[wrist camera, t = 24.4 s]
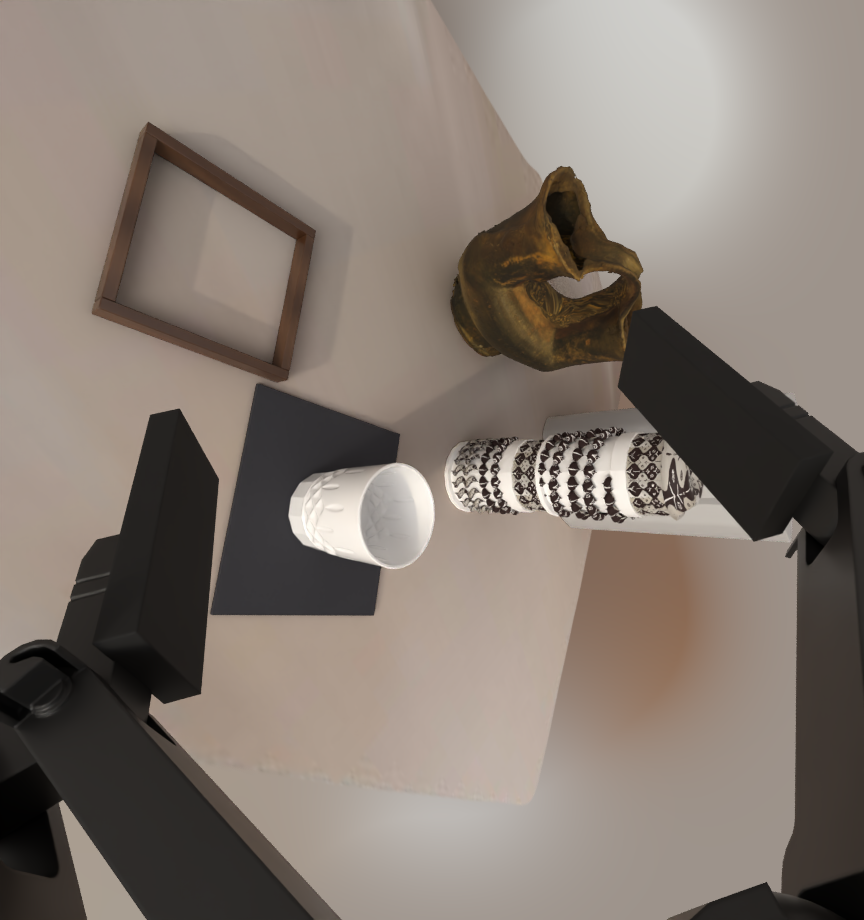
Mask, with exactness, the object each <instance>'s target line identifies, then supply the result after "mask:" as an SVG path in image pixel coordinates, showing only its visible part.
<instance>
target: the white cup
mask: <svg viewBox="0 0 864 920" xmlns="http://www.w3.org/2000/svg"><path fill="white" fill-rule="evenodd" d="M288 516H289V520H290V524H291V527H292V531H293V533H294V534H295V536H296V537H297V538H298V539H299V540H300V541H301V543H302V544H303V545H305V546H308V547H311V548H314V549H316V550H320V551H325V552H327V553H328V554H332V555H336V556H339V557H342V558H346V559H350V560H355V561H359V562H363V563H368V564H372V565H376V566H381V567H385V568H389V569H399V568H403V567H406V566H408V565H410V564H412V563H413V562H414V561H416V560H417V559H418V558H419V557H420V555H421V554H422V553H423V552H424V550H425V548H426V547H427V545H428V543H429V541H430V538H431V535H432V532H433V527H434V520H435V506H434V500H433V495H432V492H431V489H430V487H429V485H428V483H427V481H426V479H425V478H424V477H423V475H422V474H421V473H420V472H419V471H418V470H417V469H415V468H414V467H412V466H410V465H408V464H404V463H391V464H382V465H372V466H363V467H353V468H346V469H339V470H336V471H333V472H326V473H315V474H312V475H311V476H309V477H308V478H306V479H305V480H303V481H302V482H300V483H299V485H298V487H297V488H296V490H295V492H294V493H293V495H292V497H291V501H290V507H289V514H288Z"/></svg>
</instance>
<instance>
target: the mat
mask: <svg viewBox="0 0 864 920" xmlns="http://www.w3.org/2000/svg"><path fill="white" fill-rule="evenodd" d="M399 437H400V434H397V433H394V432H392V431H389V430H386V429H383V428H380V427H378V426H375V425H372V424H369V423H367V422H364V421H361V420H358V419H355V418H353V417H350V416H347V415H344V414H341V413H339V412H336V411H333V410H330V409H328V408H325V407H322V406H319V405H316V404H314V403H311V402H308V401H305V400H302V399H300V398H297V397H294V396H291V395H289V394H286V393H283V392H280V391H277V390H275V389H272V388H269V387H266V386H263V385H261V384H256V388H255V393H254V398H253V403H252V408H251V413H250V418H249V423H248V428H247V433H246V438H245V443H244V448H243V453H242V458H241V463H240V468H239V473H238V478H237V483H236V488H235V493H234V498H233V503H232V508H231V513H230V518H229V523H228V528H227V533H226V538H225V543H224V548H223V553H222V558H221V563H220V568H219V573H218V578H217V583H216V588H215V593H214V598H213V603H212V608H211V613H210V614H211V615H374V611H375V604H376V597H377V590H378V583H379V576H380V569H381V566H376V565H372V564H368V563H363V562H359V561H355V560H350V559H346V558H342V557H339V556H336V555H332V554H328V553H327V552H325V551H320V550H316V549H314V548H311V547H308V546H305V545H303V544H302V543H301V541H300V540H299V539H298V538H297V537H296V536H295V534H294V533H293V531H292V527H291V524H290V520H289V516H288V514H289V507H290V501H291V497H292V495H293V493H294V492H295V490H296V488H297V487H298V485H299V483H300V482H302V481H303V480H305V479H306V478H308V477H309V476H311V475H312V474H315V473H326V472H333V471H336V470H339V469H346V468H353V467H363V466H372V465H382V464H391V463H396V458H397V451H398V444H399Z"/></svg>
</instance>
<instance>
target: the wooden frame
mask: <svg viewBox="0 0 864 920" xmlns="http://www.w3.org/2000/svg"><path fill="white" fill-rule="evenodd" d="M154 152H155V153H156V154H158V155H160V156H161V157H163V158H164V159H166V160H168V161H169V162H171V163H173V164H174V165H176V166H177V167H179V168H181V169H182V170H184V171H186V172H187V173H189V174H190V175H192V176H194V177H195V178H197V179H199V180H200V181H202V182H203V183H205V184H207V185H208V186H210V187H212V188H213V189H215V190H216V191H218V192H220V193H221V194H223V195H225V196H226V197H228V198H229V199H231V200H233V201H234V202H236V203H238V204H239V205H241V206H242V207H244V208H246V209H247V210H249V211H251V212H252V213H254V214H255V215H257V216H259V217H260V218H262V219H264V220H265V221H267V222H268V223H270V224H272V225H273V226H275V227H277V228H278V229H280V230H281V231H283V232H285V233H286V234H288V235H290V236H291V237H293V238H294V239H296V245H295V250H294V255H293V260H292V266H291V271H290V276H289V281H288V286H287V291H286V296H285V301H284V306H283V312H282V317H281V322H280V327H279V332H278V337H277V342H276V347H275V352H274V358H273V363H272V364H270V363H267V362H264V361H262V360H259V359H257V358H254V357H252V356H249V355H247V354H244V353H242V352H239V351H237V350H234V349H232V348H229V347H227V346H224V345H222V344H219V343H217V342H214V341H212V340H209V339H207V338H204V337H201V336H199V335H196V334H194V333H191V332H189V331H186V330H184V329H181V328H179V327H176V326H174V325H171V324H169V323H166V322H164V321H161V320H159V319H156V318H154V317H151V316H149V315H146V314H143V313H141V312H138V311H136V310H133V309H131V308H128V307H126V306H123V305H121V304H118V303H116V302H115V301H116V297H117V294H118V290H119V286H120V282H121V278H122V274H123V271H124V267H125V263H126V259H127V255H128V251H129V248H130V244H131V240H132V236H133V232H134V228H135V225H136V221H137V217H138V213H139V209H140V205H141V202H142V198H143V194H144V190H145V186H146V182H147V179H148V175H149V171H150V167H151V163H152V159H153V156H154ZM315 232H316V231H315V230H314V229H312V228H311V227H309V226H308V225H306V224H305V223H303V222H302V221H300V220H299V219H297V218H295V217H294V216H292V215H291V214H289V213H288V212H286V211H285V210H283V209H282V208H280V207H279V206H277V205H275V204H274V203H272V202H271V201H269V200H268V199H266V198H265V197H263V196H262V195H260V194H259V193H257V192H255V191H254V190H252V189H251V188H249V187H248V186H246V185H245V184H243V183H242V182H240V181H239V180H237V179H235V178H234V177H232V176H231V175H229V174H228V173H226V172H225V171H223V170H222V169H220V168H219V167H217V166H216V165H214V164H212V163H211V162H209V161H208V160H206V159H205V158H203V157H202V156H200V155H199V154H197V153H196V152H194V151H192V150H191V149H189V148H188V147H186V146H185V145H183V144H182V143H180V142H179V141H177V140H176V139H174V138H172V137H171V136H169V135H168V134H166V133H165V132H163V131H162V130H160V129H159V128H157V127H156V126H154V125H153V124H151V123H149V122H148V123H147V124H146V125H145V127H144V128H143V129H142V131H141V132H140V135H139V138H138V142H137V146H136V149H135V153H134V157H133V161H132V164H131V168H130V172H129V175H128V179H127V183H126V187H125V190H124V194H123V198H122V202H121V205H120V209H119V213H118V216H117V220H116V224H115V228H114V231H113V235H112V239H111V242H110V246H109V250H108V254H107V257H106V261H105V265H104V268H103V272H102V276H101V280H100V283H99V287H98V291H97V294H96V298H95V303H94V306H93V310H92V314H94V315H97V316H100V317H102V318H105V319H108V320H110V321H113V322H116V323H118V324H121V325H124V326H126V327H129V328H132V329H135V330H137V331H140V332H143V333H145V334H148V335H151V336H153V337H156V338H159V339H161V340H164V341H167V342H170V343H172V344H175V345H178V346H180V347H183V348H186V349H188V350H191V351H194V352H196V353H199V354H202V355H205V356H207V357H210V358H213V359H215V360H218V361H221V362H223V363H226V364H229V365H231V366H234V367H237V368H240V369H242V370H245V371H248V372H250V373H253V374H256V375H258V376H261V377H264V378H266V379H269V380H272V381H275V382H281V381H285V380H287V379H288V374H289V370H290V365H291V360H292V354H293V349H294V344H295V338H296V333H297V328H298V323H299V317H300V312H301V307H302V301H303V296H304V291H305V286H306V280H307V275H308V270H309V264H310V259H311V254H312V248H313V243H314V237H315Z"/></svg>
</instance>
